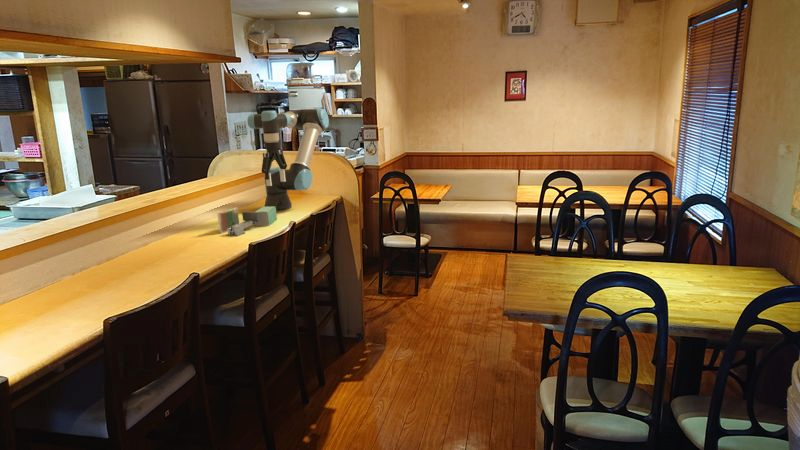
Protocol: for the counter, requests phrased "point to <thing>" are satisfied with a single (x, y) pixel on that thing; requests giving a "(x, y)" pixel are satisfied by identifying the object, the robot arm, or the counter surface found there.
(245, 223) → the plunger
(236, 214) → the gauge housing
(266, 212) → the box
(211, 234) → the counter surface
